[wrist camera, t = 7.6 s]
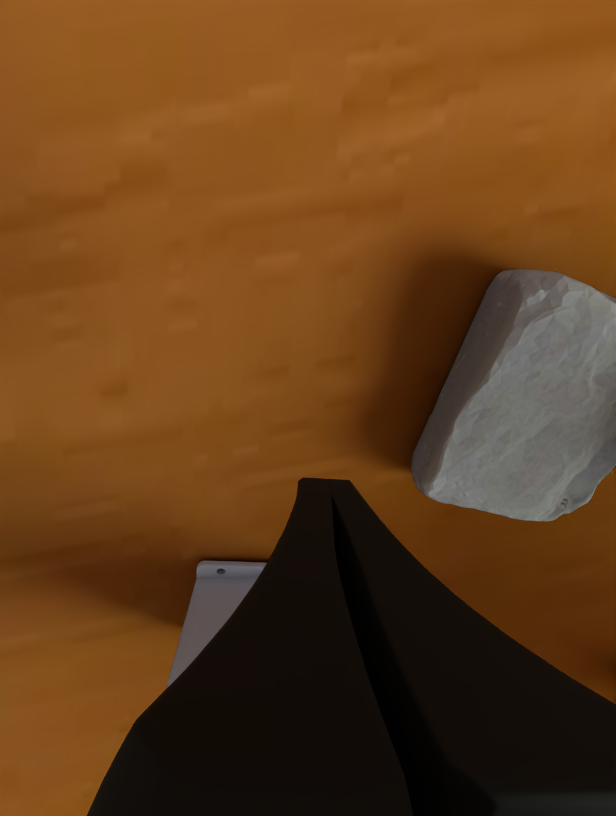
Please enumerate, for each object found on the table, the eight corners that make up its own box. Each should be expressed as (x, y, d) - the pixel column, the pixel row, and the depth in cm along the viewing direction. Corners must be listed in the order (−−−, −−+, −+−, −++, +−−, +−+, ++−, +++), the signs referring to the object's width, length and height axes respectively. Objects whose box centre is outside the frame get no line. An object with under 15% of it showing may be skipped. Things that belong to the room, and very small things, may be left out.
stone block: (629, 304, 21) (482, 251, 17) (735, 329, 16) (569, 267, 13) (519, 481, 25) (388, 466, 22) (580, 536, 21) (429, 527, 18)
